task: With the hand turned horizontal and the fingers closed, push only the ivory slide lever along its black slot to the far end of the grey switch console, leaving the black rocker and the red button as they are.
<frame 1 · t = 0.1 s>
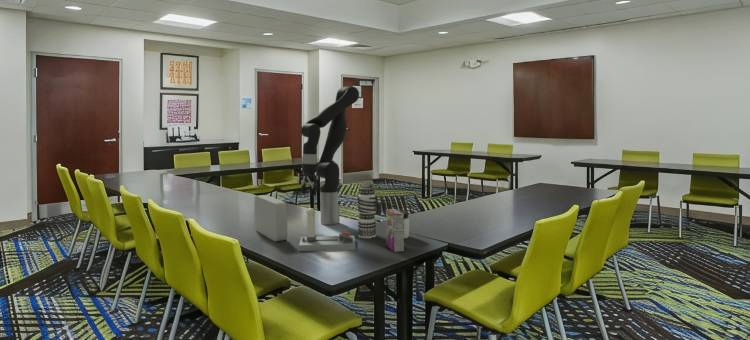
hand: (308, 194, 240), 17 cm above the table, tool pointing down, fingers open, 8 cm apart
button: (345, 234, 212), point 4 cm above the table, slide at 0.0 cm
switch console: (327, 245, 208), on the table
rocker: (345, 238, 204), point 4 cm above the table, hinge at -18.0°
rounded white slab: (270, 235, 227), on the table
jar: (399, 237, 223), on the table
slide lever: (311, 223, 206), point 10 cm above the table, slide at 0.0 cm
candy bar box: (394, 249, 203), on the table
decorative candle: (367, 236, 225), on the table
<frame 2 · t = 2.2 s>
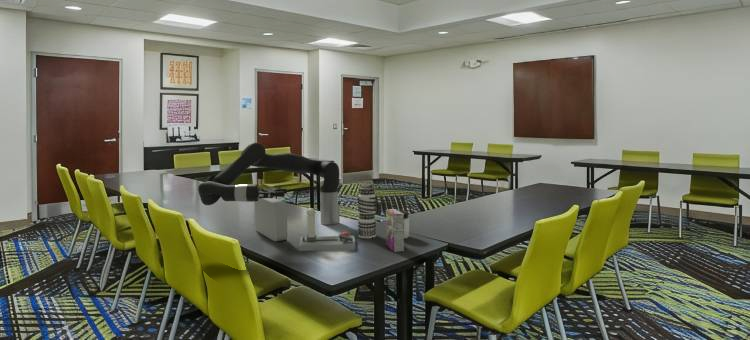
hand: (285, 192, 204), 24 cm above the table, tool horizontal, fingers open, 7 cm apart
nothing on the table moved.
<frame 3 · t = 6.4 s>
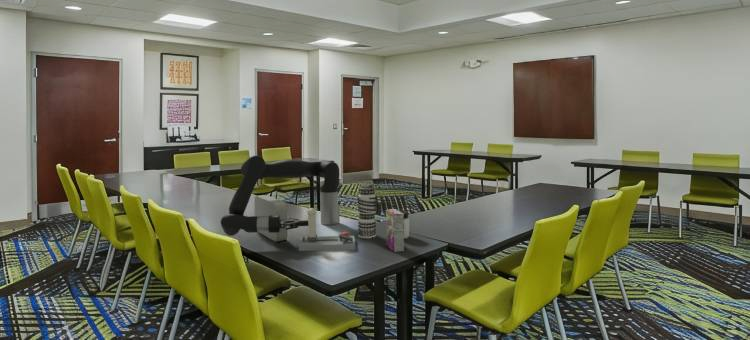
hand: (308, 223, 206), 10 cm above the table, tool horizontal, fingers closed
slide lever: (312, 223, 206), point 10 cm above the table, slide at 0.4 cm, touching gripper
everything else where it was.
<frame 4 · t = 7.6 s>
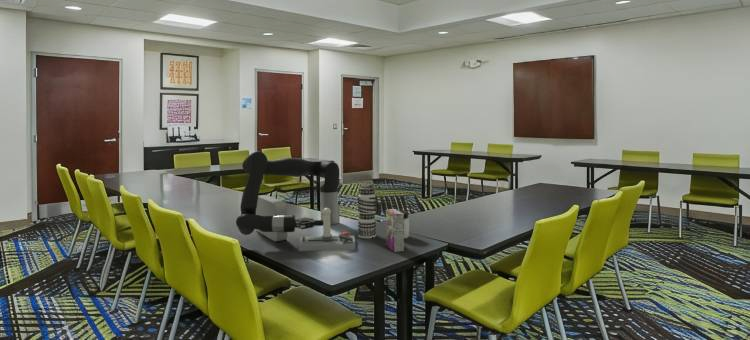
hand: (323, 222, 207), 10 cm above the table, tool horizontal, fingers closed
slide lever: (326, 223, 207), point 10 cm above the table, slide at 6.9 cm, touching gripper
everything else where it was.
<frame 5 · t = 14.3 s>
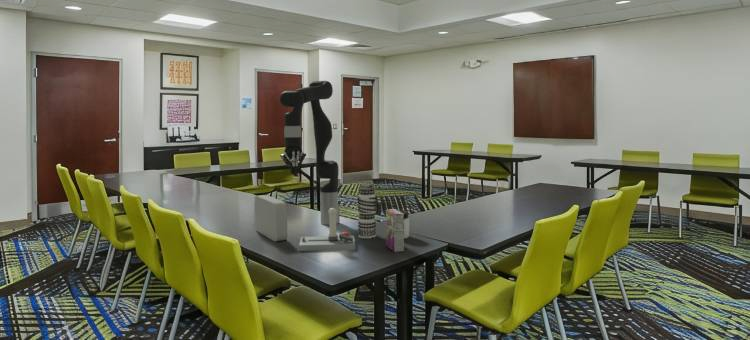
hand: (293, 174, 212), 31 cm above the table, tool pointing down, fingers closed
slide lever: (332, 223, 207), point 10 cm above the table, slide at 9.5 cm
everything else where it was.
at the end: slide lever slide at 9.5 cm; rocker at -18° (first picture: -18°); button slide at 0.0 cm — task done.
